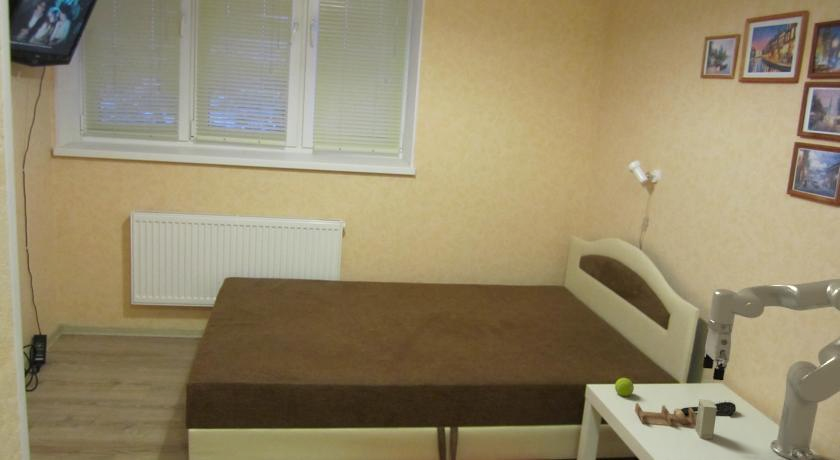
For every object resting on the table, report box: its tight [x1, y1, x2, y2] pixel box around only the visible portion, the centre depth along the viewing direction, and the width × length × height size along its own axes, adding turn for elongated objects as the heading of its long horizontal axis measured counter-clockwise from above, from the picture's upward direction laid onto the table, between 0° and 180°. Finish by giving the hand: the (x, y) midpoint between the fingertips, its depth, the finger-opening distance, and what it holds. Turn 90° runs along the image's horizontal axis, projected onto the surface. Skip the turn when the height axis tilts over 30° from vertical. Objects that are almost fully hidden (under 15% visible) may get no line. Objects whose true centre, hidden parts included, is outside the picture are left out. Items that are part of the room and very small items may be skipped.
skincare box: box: [694, 399, 718, 440], centre depth 226 cm, size 6×4×12 cm
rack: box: [634, 402, 697, 429], centre depth 236 cm, size 10×20×4 cm, turn 86°
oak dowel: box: [673, 408, 688, 425], centre depth 236 cm, size 7×3×3 cm, turn 176°
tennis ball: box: [614, 377, 635, 397], centre depth 255 cm, size 7×7×7 cm
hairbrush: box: [680, 400, 737, 417], centre depth 245 cm, size 8×4×25 cm
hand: (712, 373), depth 223 cm, fingers open, 9 cm apart
